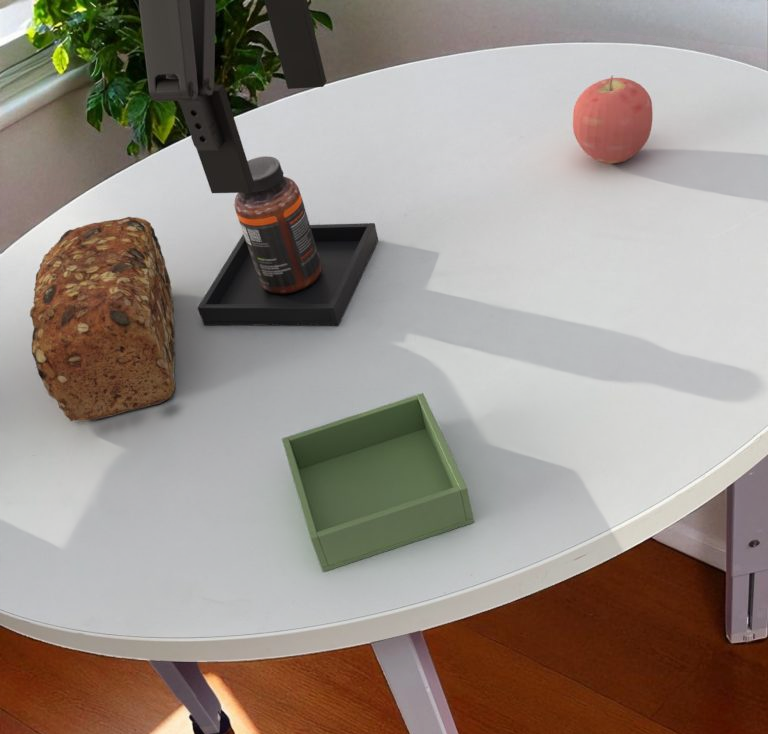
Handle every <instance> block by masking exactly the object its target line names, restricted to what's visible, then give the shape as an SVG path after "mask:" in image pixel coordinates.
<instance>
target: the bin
mask: <svg viewBox="0 0 768 734" xmlns="http://www.w3.org/2000/svg"><path fill="white" fill-rule="evenodd" d="M281 441H282V444H283V448H284V452H285V455H286V458H287V462H288V465H289V469H290V472H291V476H292V479H293V482H294V486H295V489H296V494H297V496H298V499H299V503H300V507H301V509H302V514H303V517H304V520H305V524H306V528H307V531H308V534H309V538H310V542H311V544H312V546H313V548H314V552H315V556H316V557H317V560H318V563H319V565H320V568H321V571H322V573H324V572H328V571H330V570H333V569H337V568H340V567H343V566H346V565H348V564H351V563H355V562H358V561H360V560H361V561H362V560H364V559H368V558H369V557H373V556H376V555H380V554H382V553H385V552H388V551H391V550H394V549H398V548H401V547H404V546H407V545H409V544H413V543H415V542H418V541H421V540H425V539H428V538H430V537H434V536H438V535H441V534H443V533H447V532H449V531H452V530H456V529H459V528H461V527H465V526H467V525H470V524H473V523H475V519H474V515H473V510H472V505H471V500H470V495H469V490H468V487H467V484H466V482H465V480H464V478H463V476H462V474H461V471H460V470H459V467H458V465H457V463H456V461H455V458H454V456H453V454H452V451H451V450H450V448H449V446H448V444H447V441H446V439H445V436H444V435H443V433H442V430H441V429H440V427H439V425H438V422H437V420H436V418H435V416H434V413H433V412H432V409H431V407H430V405H429V402H428V400H427V398H426V395H425V394H424V393H423V392H422V393H419V394H416V395H412V396H409V397H406V398H402V399H400V400H397V401H394V402H390V403H388V404H384V405H382V406H379V407H375V408H372V409H370V410H366V411H363V412H359V413H356V414H353V415H351V416H348V417H345V418H341V419H338V420H335V421H333V422H332V421H331V422H328V423H325V424H323V425H319V426H316V427H314V428H310V429H307V430H304V431H301V432H297V433H295V434H291V435H288V436H286V437H282V438H281Z"/></svg>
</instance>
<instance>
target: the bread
mask: <svg viewBox="0 0 768 734" xmlns="http://www.w3.org/2000/svg"><path fill="white" fill-rule="evenodd" d="M169 275H170V274H169V272H168V269H167V266H166V260H165V257H164V255H163V252H162V246H161V244H160V242H159V238H158V237H157V235H156V232H155V228H153V226H152V224H151V222H149V220H148V221H147V219H144V218H141V217H137V216H136V217H134V216H133V217H132V216H127V217H123V218H119V219H111V220H103V221H100V222H99V221H98V222H93V223H89V224H85V225H83V226H78V227H75V228H74V229H68V230H67V231H65V232H63V234H62V235H61V237H60V238H59V240H58V241H57V242H56V243H55V244H54V245H53V246H52V247H50V249H49V250H48V252H47V253H45V254H44V255H43V258H42V259H41V262H40V264H39V269H38V271H37V272H36V274H35V283H34V288H33V291H34V295H33V301H32V302H33V306H32V307H31V309H30V310H29V317H30V318H31V319H32V326H33V331H32V337H31V339H32V341H31V354H32V356H33V359H34V362H35V368H36V370H37V373H38V374H37V375H38V376H39V378H40V379H41V380H42V383H43V387H44V388H45V390H46V391H47V394H48V396H49V397H51V398H52V399H54V400H55V401H57V404H58V408H59V410H62V412H63V413H64V416H65V417H66V418H68V419H69V420H70V422H73V421H80V422H82V421H95V420H98V419H103V418H106V417H112V416H115V415H118V414H122V413H125V412H130V411H136V410H139V409H142V408H146V407H151V406H155V405H159V404H161V403H163V402H165V401H167V400H169V399H170V398H171V397H172V395H173V393H174V391H175V390H176V383H175V358H176V352H175V346H176V342H175V318H174V314H173V313H174V310H175V309H174V302H173V294H172V286H171V283H172V282H171V279H170V276H169Z"/></svg>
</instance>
